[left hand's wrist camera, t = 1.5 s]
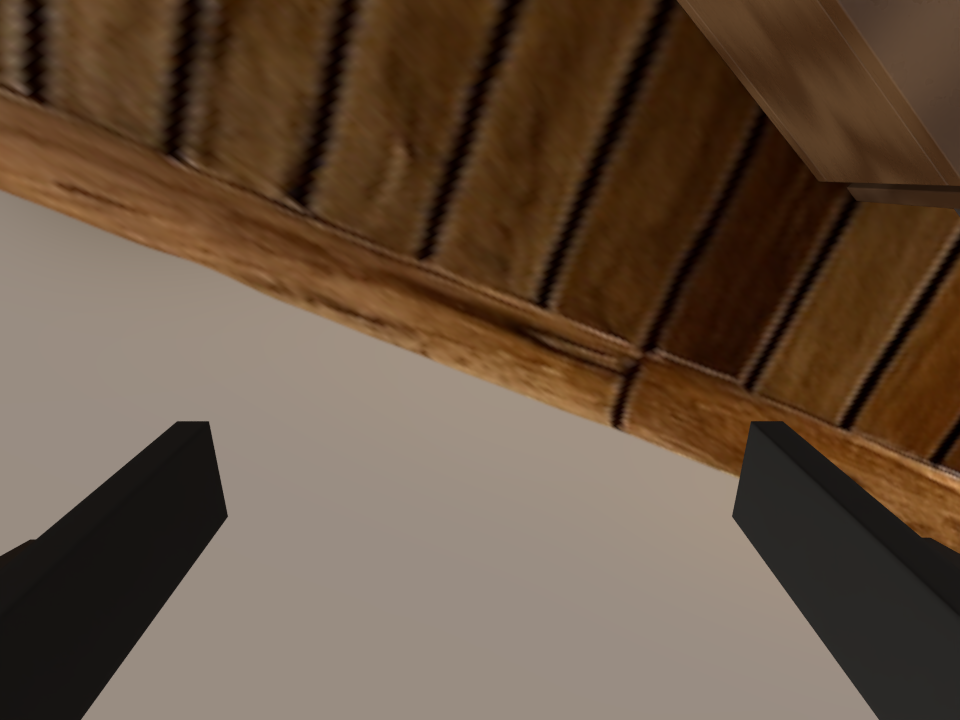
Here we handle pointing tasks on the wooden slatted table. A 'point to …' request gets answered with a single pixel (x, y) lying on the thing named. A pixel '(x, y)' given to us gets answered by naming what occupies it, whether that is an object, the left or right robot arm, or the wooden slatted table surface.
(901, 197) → the drawer
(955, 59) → the brown box
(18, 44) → the wooden slatted table surface
